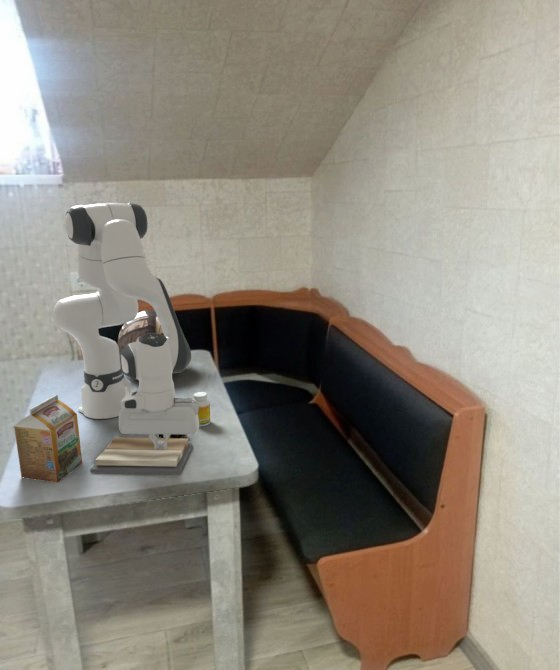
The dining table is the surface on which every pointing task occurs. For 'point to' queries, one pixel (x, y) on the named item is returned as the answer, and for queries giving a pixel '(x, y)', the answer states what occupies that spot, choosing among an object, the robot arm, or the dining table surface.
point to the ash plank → (139, 457)
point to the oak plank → (147, 444)
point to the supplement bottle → (203, 408)
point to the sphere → (139, 328)
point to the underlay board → (144, 467)
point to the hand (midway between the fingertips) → (161, 448)
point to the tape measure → (173, 435)
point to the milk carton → (48, 441)
